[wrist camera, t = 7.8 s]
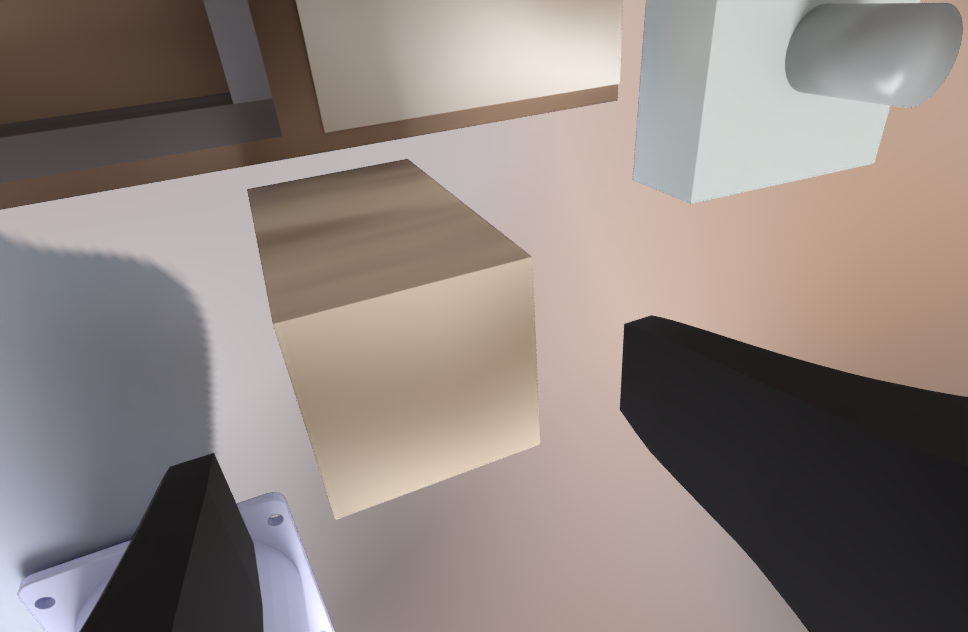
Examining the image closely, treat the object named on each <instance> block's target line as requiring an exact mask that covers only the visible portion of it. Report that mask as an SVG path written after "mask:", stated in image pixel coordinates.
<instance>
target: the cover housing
mask: <svg viewBox="0 0 968 632" xmlns="http://www.w3.org/2000/svg"><path fill="white" fill-rule="evenodd" d="M962 33H963V26H962V18H961V15H960V12H959V11H958V9H957V8H956V7H955V6H954V5H952V4H949V3H920V0H646V8H645V22H644V35H643V50H642V62H641V76H640V90H639V102H638V116H637V129H636V130H637V131H636V143H635V157H634V170H633V180H635V181H637V182H639V183H642V184H644V185H647V186H649V187H651V188H654V189H656V190H659V191H661V192H663V193H666V194H668V195H671V196H673V197H676V198H678V199H681V200H683V201H686V202H688V203H690V204H692V203H696V202H701V201H705V200H710V199H715V198H719V197H724V196H728V195H732V194H738V193H742V192H747V191H751V190H755V189H760V188H765V187H769V186H774V185H778V184H783V183H787V182H792V181H796V180H801V179H805V178H810V177H815V176H819V175H824V174H828V173H833V172H837V171H842V170H846V169H851V168H855V167H860V166H864V165H869V164H873V163H874V161H875V158H876V154H877V151H878V147H879V144H880V140H881V137H882V133H883V130H884V126H885V123H886V119H887V116H888V112H889V109H890V106H896V107H903V108H912V107H916V106H918V105H920V104H922V103H923V102H925V101H926V100H928V99H929V98H930V97H931V96H932V95H933V94H934V93H935V92H936V91H937V90H938V89H939V88H940V86H941V85H942V84H943V82H944V81H945V79H946V78H947V76H948V75H949V73H950V71H951V69H952V67H953V65H954V63H955V61H956V58H957V55H958V53H959V49H960V45H961V41H962Z"/></svg>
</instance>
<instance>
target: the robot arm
mask: <svg viewBox="0 0 968 632" xmlns="http://www.w3.org/2000/svg"><path fill="white" fill-rule="evenodd" d="M621 379H622V380H621V398H620V411H621V412H622V413H623V415H624V416H625V418H626V419H627V420H628V422H629V423H630V425H631V426H632V428H633V429H634V431H635V432H636V433H637V434H638V436H639V437H640V439H641V440H642V441H643V443H644V444H645V445H646V447H647V448H648V449H649V451H650V452H651V453H652V454H653V455H654V456H655V457H656V458H657V460H658V461H659V462H660V463H661V464H662V465H663V466H664V467H665V468H666V469H667V470H668V471H669V472H670V473H671V474H672V476H673V477H674V478H675V479H676V480H677V481H678V482H679V483H680V484H681V485H682V486H683V487H684V488H685V489H686V490H687V491H688V492H689V493H690V494H691V495H692V496H693V497H694V499H695V500H696V501H697V502H698V503H699V504H700V505H701V506H702V507H703V508H704V509H705V510H706V511H707V512H708V513H709V514H710V515H711V516H712V517H713V518H714V519H715V520H716V521H717V522H718V523H719V524H720V526H721V527H723V528H724V530H725V531H726V532H727V533H728V534H729V535H730V536H731V537H732V538H733V539H734V540H735V541H736V542H737V543H738V544H739V545H740V547H741V548H742V549H743V550H744V551H745V552H746V553H747V554H748V556H749V557H750V558H751V559H752V560H753V561H754V562H755V563H756V565H757V566H758V567H759V568H760V570H761V571H762V572H763V573H764V575H765V576H766V577H767V578H768V580H769V581H770V582H771V583H772V585H773V586H774V587H775V589H776V590H777V591H778V592H779V594H780V595H781V596H782V597H783V599H784V600H785V601H786V602H787V604H788V605H789V606H790V607H791V609H792V610H793V611H794V612H795V614H796V615H797V616H798V618H799V619H800V620H801V622H802V623H803V624H804V626H805V627H806V628H807V630H808V631H809V632H968V397H964V396H957V395H951V394H946V393H940V392H934V391H929V390H924V389H919V388H914V387H909V386H905V385H900V384H895V383H890V382H885V381H881V380H876V379H872V378H867V377H863V376H859V375H855V374H851V373H847V372H843V371H839V370H835V369H832V368H828V367H825V366H821V365H817V364H813V363H810V362H806V361H803V360H799V359H796V358H792V357H789V356H786V355H782V354H778V353H776V352H772V351H769V350H766V349H762V348H759V347H756V346H753V345H750V344H746V343H743V342H740V341H737V340H734V339H731V338H727V337H725V336H722V335H718V334H715V333H712V332H709V331H706V330H703V329H700V328H696V327H693V326H690V325H686V324H683V323H680V322H676V321H673V320H669V319H665V318H661V317H657V316H648V317H645V318H642V319H639V320H636V321H632V322H629V323H626V324H624V340H623V360H622V378H621ZM277 514H278V515H280V516H278V517H276V518H270V517H271V516H273V515H277ZM17 595H18V597H19V599H20V601H21V602H22V603H23V604H24V605H25V607H26V608H27V609H28V610H29V611H30V613H31V614H32V615H33V616H34V618H35V619H36V620H37V621H38V622H39V624H40V625H41V626H42V627H43V629H44V630H45V631H46V632H335V630H334V628H333V625H332V622H331V620H330V617H329V614H328V612H327V609H326V606H325V604H324V601H323V598H322V595H321V593H320V590H319V587H318V585H317V582H316V579H315V576H314V574H313V571H312V568H311V566H310V563H309V561H308V558H307V555H306V553H305V550H304V547H303V544H302V542H301V539H300V536H299V533H298V531H297V528H296V525H295V523H294V520H293V518H292V515H291V512H290V509H289V507H288V504H287V501H286V499H285V497H284V496H283V495H282V494H280V493H276V492H271V493H267V494H263V495H261V496H258V497H255V498H252V499H249V500H246V501H243V502H240V503H237V504H236V502H235V500H234V498H233V495H232V493H231V491H230V488H229V486H228V484H227V481H226V479H225V477H224V475H223V473H222V470H221V468H220V466H219V463H218V461H217V459H216V456H215V454H214V453H212V454H209V455H206V456H203V457H200V458H197V459H193V460H190V461H187V462H184V463H181V464H177V465H174V466H171V467H169V469H168V470H167V472H166V473H165V475H164V477H163V479H162V481H161V483H160V485H159V487H158V489H157V491H156V493H155V495H154V497H153V499H152V500H151V502H150V504H149V506H148V508H147V510H146V512H145V514H144V516H143V518H142V520H141V522H140V524H139V526H138V528H137V530H136V532H135V534H134V536H133V537H132V539H131V540H130V541H127V542H124V543H121V544H118V545H115V546H112V547H109V548H106V549H103V550H101V551H98V552H95V553H92V554H89V555H86V556H83V557H80V558H77V559H74V560H71V561H69V562H66V563H63V564H60V565H57V566H54V567H51V568H48V569H45V570H42V571H39V572H37V573H34V574H31V575H29V576H27V577H25V578H24V579H23V580H22V581H21V584H20V587H19V590H18V594H17ZM43 597H52V598H47V599H46V598H43Z"/></svg>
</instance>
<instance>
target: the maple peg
mask: <svg viewBox="0 0 968 632" xmlns="http://www.w3.org/2000/svg"><path fill="white" fill-rule="evenodd" d="M247 191H248V196H249V201H250V207H251V212H252V217H253V222H254V228H255V233H256V238H257V243H258V248H259V253H260V259H261V264H262V269H263V275H264V280H265V285H266V290H267V296H268V300H269V306H270V311H271V316H272V322H273V325H274V329H275V332H276V335H277V338H278V342H279V345H280V348H281V351H282V354H283V357H284V360H285V364H286V367H287V370H288V373H289V376H290V379H291V382H292V385H293V389H294V392H295V395H296V398H297V401H298V404H299V408H300V410H301V414H302V417H303V420H304V423H305V426H306V430H307V433H308V436H309V439H310V442H311V445H312V448H313V452H314V455H315V458H316V461H317V464H318V467H319V470H320V474H321V477H322V480H323V483H324V486H325V489H326V493H327V496H328V499H329V502H330V505H331V508H332V511H333V515H334V518H335V520H337V519H340V518H342V517H345V516H348V515H350V514H353V513H356V512H359V511H361V510H364V509H367V508H369V507H372V506H375V505H378V504H380V503H383V502H386V501H388V500H391V499H394V498H396V497H399V496H402V495H405V494H407V493H410V492H413V491H415V490H418V489H421V488H423V487H426V486H429V485H432V484H434V483H437V482H440V481H442V480H445V479H448V478H450V477H453V476H456V475H458V474H461V473H464V472H467V471H469V470H472V469H475V468H477V467H480V466H482V465H485V464H488V463H491V462H493V461H496V460H499V459H501V458H504V457H507V456H510V455H512V454H515V453H518V452H521V451H523V450H526V449H529V448H531V447H534V446H537V445H539V444H540V428H539V405H538V383H537V382H538V381H537V361H536V360H537V359H536V335H535V311H534V288H533V266H532V256H530V255H529V254H528V253H526V252H525V251H524V250H523V249H522V248H520V247H519V246H517V245H516V244H515V243H514V242H513V241H511V240H510V239H509V238H507V237H506V236H505V235H504V234H502V233H501V232H500V231H499V230H497V229H496V228H495V227H494V226H492V225H491V224H490V223H488V222H487V221H486V220H485V219H483V218H482V217H481V216H480V215H478V214H477V213H476V212H474V211H473V210H472V209H470V208H469V207H468V206H467V205H465V204H464V203H463V202H462V201H460V200H459V199H458V198H457V197H455V196H454V195H453V194H451V193H450V192H449V191H448V190H446V189H445V188H444V187H442V186H441V185H440V184H439V183H437V182H436V181H435V180H434V179H432V178H431V177H430V176H428V175H427V174H426V173H425V172H423V171H422V170H421V169H420V168H418V167H417V166H416V165H414V164H413V163H412V162H411V161H409V160H408V159H405V160H400V161H394V162H389V163H384V164H378V165H373V166H368V167H363V168H358V169H353V170H347V171H341V172H336V173H331V174H326V175H320V176H315V177H310V178H304V179H299V180H294V181H288V182H283V183H278V184H273V185H268V186H262V187H257V188H252V189H247Z"/></svg>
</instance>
